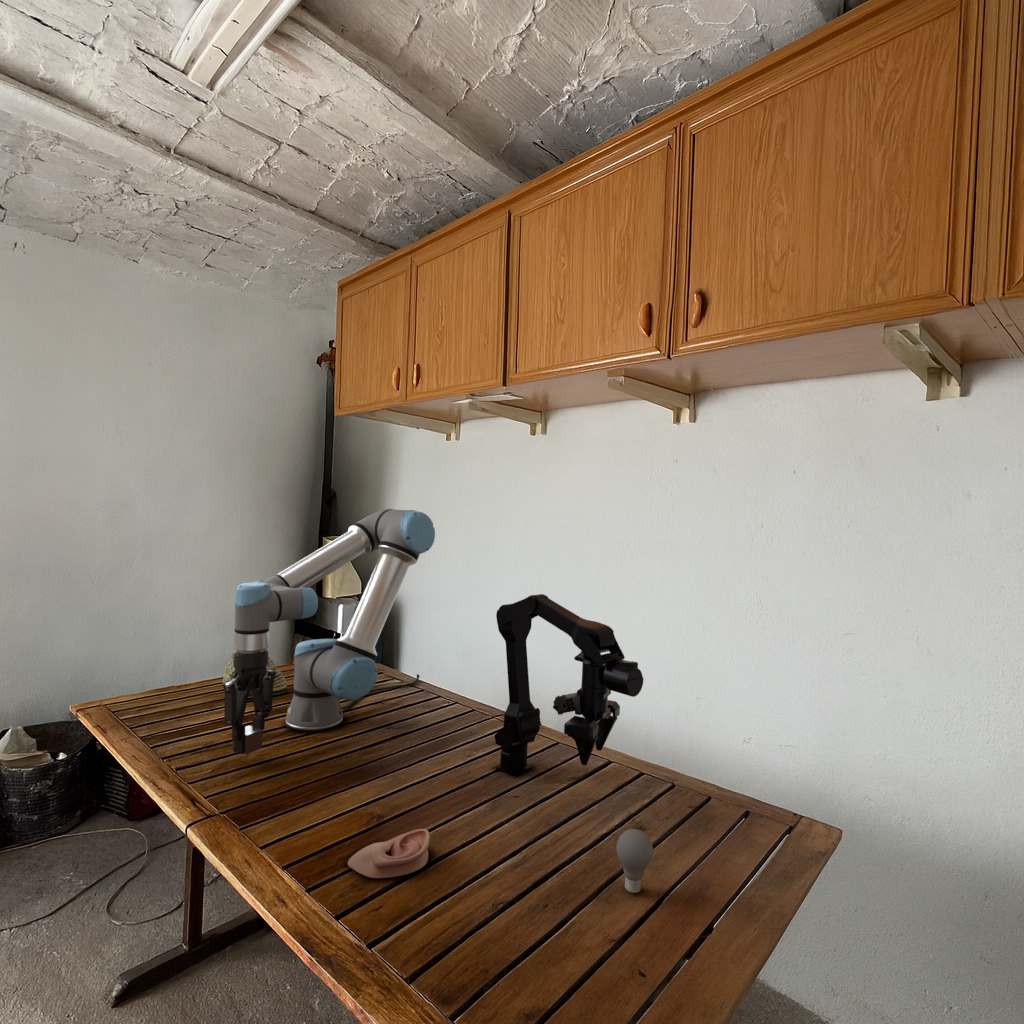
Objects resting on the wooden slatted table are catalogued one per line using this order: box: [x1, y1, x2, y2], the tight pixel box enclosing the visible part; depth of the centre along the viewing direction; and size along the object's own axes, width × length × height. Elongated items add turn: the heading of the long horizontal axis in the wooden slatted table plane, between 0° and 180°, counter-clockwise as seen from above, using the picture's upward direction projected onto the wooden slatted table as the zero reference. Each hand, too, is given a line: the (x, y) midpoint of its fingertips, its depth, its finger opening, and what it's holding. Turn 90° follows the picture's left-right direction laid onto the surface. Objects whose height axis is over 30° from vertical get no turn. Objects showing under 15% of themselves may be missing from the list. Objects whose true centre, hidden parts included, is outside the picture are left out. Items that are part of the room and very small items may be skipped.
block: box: [232, 725, 264, 755], centre depth 148 cm, size 4×5×4 cm
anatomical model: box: [347, 828, 431, 879], centre depth 111 cm, size 13×4×12 cm
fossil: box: [222, 649, 288, 699], centre depth 198 cm, size 9×18×15 cm, turn 132°
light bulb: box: [615, 828, 654, 894], centre depth 106 cm, size 6×6×10 cm
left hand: (248, 748), depth 148 cm, fingers closed on block, 4 cm apart
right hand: (591, 757), depth 135 cm, fingers open, 9 cm apart
